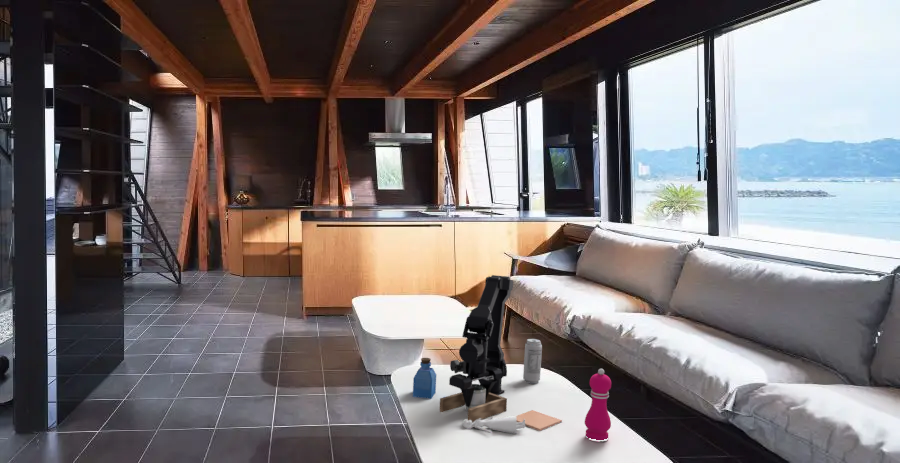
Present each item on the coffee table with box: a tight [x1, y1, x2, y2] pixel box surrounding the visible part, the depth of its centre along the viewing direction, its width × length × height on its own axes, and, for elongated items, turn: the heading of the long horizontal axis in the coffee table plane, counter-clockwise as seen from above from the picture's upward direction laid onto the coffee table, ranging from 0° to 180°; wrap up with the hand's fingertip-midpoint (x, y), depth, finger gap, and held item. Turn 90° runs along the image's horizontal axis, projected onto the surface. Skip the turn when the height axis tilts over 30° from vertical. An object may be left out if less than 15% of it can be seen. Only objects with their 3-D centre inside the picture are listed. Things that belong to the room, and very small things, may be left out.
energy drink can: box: [522, 338, 543, 384], centre depth 234 cm, size 6×6×15 cm
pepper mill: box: [584, 368, 612, 440], centre depth 183 cm, size 7×7×20 cm
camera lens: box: [464, 383, 486, 413], centre depth 201 cm, size 6×6×8 cm
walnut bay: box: [439, 391, 508, 423], centre depth 200 cm, size 17×13×4 cm
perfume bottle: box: [412, 357, 437, 400], centre depth 213 cm, size 6×6×12 cm
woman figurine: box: [461, 415, 526, 434], centre depth 187 cm, size 12×4×18 cm
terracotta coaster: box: [515, 409, 563, 432], centre depth 195 cm, size 11×11×1 cm
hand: (475, 404), depth 201 cm, fingers closed on camera lens, 6 cm apart
